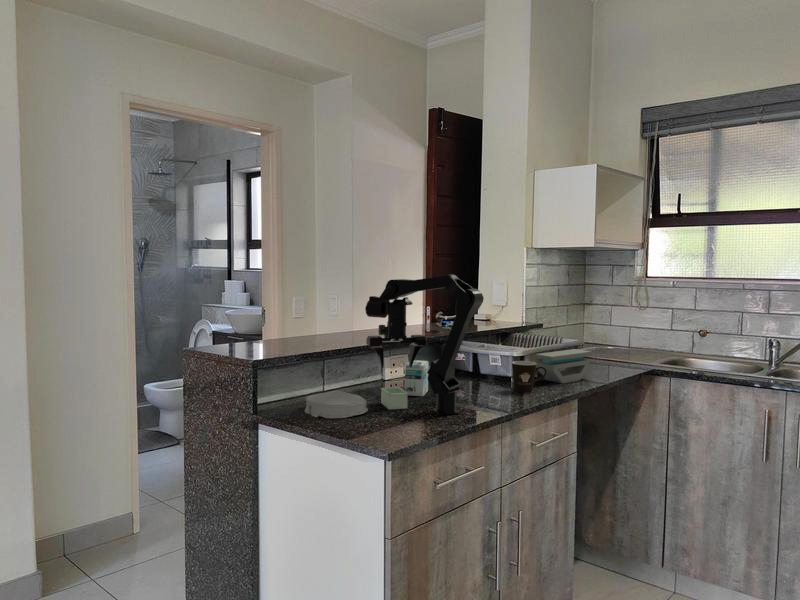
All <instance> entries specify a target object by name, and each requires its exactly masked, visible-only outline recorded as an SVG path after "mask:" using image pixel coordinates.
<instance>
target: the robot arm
mask: <svg viewBox="0 0 800 600" xmlns="http://www.w3.org/2000/svg"><path fill="white" fill-rule="evenodd" d="M444 288H445V289H446V290H447V291H448V292H449V294H450V295H451V297H452V298H454V299H455V317H454V320H453V323H452V325H451V327H450V330H449V334H448V335H447V338H446V341H445V343H444V346H443V349H442V352H441V355H440V357H439V358H438V359H436V360H432V361H431V362H430V364H429V368H428V372H427V374H428V384H429V385H430V386H431V391H432V393H433V395H436V407H433V408H432V411H433V412H435V413H436V414H438V415H440V416H444V415H459V414H460V411H459V410H456V392H459V391H460V388H461V386H462V385H461V383H460V382H459V381H458V379H457V377H455V372H456V360H457V356H458V354H459V351H460V350H461V349H460V348H461V345H462V343H463V340H464V339H465V335H466V333H467V330H468V328H469V325H470V322H471V320H472V319H473V317H474V316H476V314H477V312H478V311H479V309H480V308H481V306H482V305H483V303H484V295H483V293H482V292H481V290H480V289H478V288H474V287H473V286H471V285H469V284H468V283H466V282H465V281H463V280H461V279H460V278H459V277H458V276H457V275H456V274H453V273H451V274H444V275H440V276H434V277H425V278H420V279H407V278H406V279H405V278H404V279H402V278H401V279H390V280H387V282H386V284H385V288H384V289H383V291H382V293H381V294H380V296H376V295H375V296H374V295H373V296H372V295H371V296H369V297H368V298H369V300H368V301H367V302H366V305H365V309H364V310H365V314H366V316H367V317H368V318H382V319H386V318H387V322H386V324H379V325H378V335H368V336H367V337H366V342H365V343H366V345H367V346H368V347H370V348H371V349H373V350H375V353H376V355H377V357H378V361H379V364H380V368H382V369H384V366H385V359H384V356H385V355H384V354H385V353H384V347H383V346H382V345H385V344H387V345H389V344H390V345H392V344H409V360H408V362H409V367H412V364H413V362H414V360H416V357H417V355H418V353H419V351H420V350H421V349H423V348H424V346H427V345H428V339H427V337H426V335H422V334H411V335H410V337H409V336H408V335H406V334H407V326H408V324H407V323H408V322H407V306H412V305H413V301H412V300H410V299H409V297H407V296H409V295H413V294H415V293H418V292H423V291H424V292H425V291H430V290H431V291H432V290H436V289H437V290H438V289H444ZM399 298H402V299H399ZM382 336H383V337H382ZM407 336H408V337H407Z"/></svg>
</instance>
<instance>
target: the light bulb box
mask: <svg viewBox="0 0 800 600" xmlns="http://www.w3.org/2000/svg"><path fill="white" fill-rule="evenodd" d="M428 371H429V361H428V360H417V359H415V360H414V362H413V364H412V367H409V361H408V362H407V363H405V364H404V372H405V373H404V391H406V392H407V393H408V396H411V397H412V396H414V397H424V396H425V395H426V393H427V392H428V391H429V381H428V374H427V372H428Z"/></svg>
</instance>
